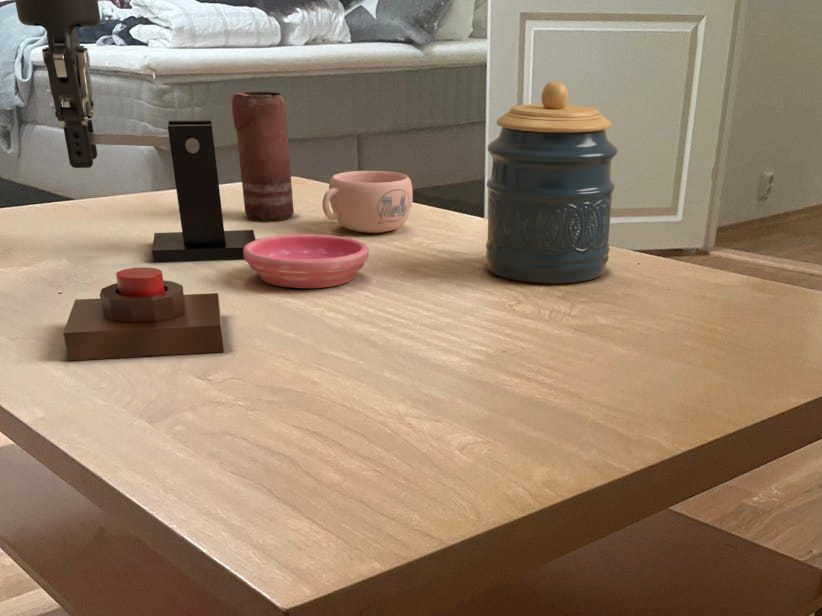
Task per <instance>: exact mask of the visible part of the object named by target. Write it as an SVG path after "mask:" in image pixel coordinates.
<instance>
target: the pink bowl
mask: <svg viewBox="0 0 822 616" xmlns="http://www.w3.org/2000/svg"><path fill="white" fill-rule="evenodd" d="M243 254H244V259H243V260H245V262H247V263H248V265H249V267H250V268H251V269H252V270H253V271H255V272H257V274H258V275H259V277H260V279H261V280H262V281H264V282H265V283H267V284H270V285H273V286H276V287H277V286H278V287H282V288H292V289H321V288H331V287H336V286H340V285H344V284H347V283H349V282H351V281H353V280H354V279H355V278H356V275H357V274H358V271H360V270H362V268H363V267H364V266H365V262H367V261H368V259H369V247H368V245H367V244H366V243H364V242H362V241H360V240H359V239H354V238H350V237H345V236H339V235H329V234H312V233H309V234H308V233H307V234H306V233H303V234H285V235H276V236H275V235H274V236H269V237H263V238H259V239H256V240H255V241H252V242H250V243H248V244H247V245H245V247H244V249H243Z"/></svg>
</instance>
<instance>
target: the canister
mask: <svg viewBox="0 0 822 616" xmlns="http://www.w3.org/2000/svg"><path fill="white" fill-rule="evenodd" d="M568 102H569V91H568V88H567V86H566V85H565V83H563V82H561V81H556V80H553V81H550V82H548V83H546V84H545V86H544V87H543V89H542V92H541V103H534V104H533V103H529V104H527V103H526V104H518V105H514V106H512V107H510V109H509V111H507V112H506V113H505V114H503V115H501V116H500V117H499V118H497V119H496V125H497V126H499V127H500V128H501V129H500V132H499V134H498V136H497V138H495V139H494V140H492V141H491V142H490V143H489V144H487V152H489V154H490V156H491V157H492V166H491V167H492V168H491V175H490V177H489V179H488V180H487V181H486V187H487V189H488V199H487V200H488V201H487V202H488V204H487V205H488V206H487V213H488V214H487V240H486V243H485V249H486V251H485V257H486V260H487V269H488V270H489V271H490V272H491V273H492V274H495V275H497V276H500V277H502V278H506V279H510V280H514V281H519V282H520V281H521V282H528V283H537V284H538V283H539V284H540V283H541V284H568V283H578V282H584V281H585V282H586V281H590V280H593V279H596V278H598V277H601V276H602V275H603V274H605V272H606V269H607V268H606V267H607V263H608V261H609V258H610V256H609V252H610V246H609V239H610V238H609V237H610V226H611V215H612V214H611V213H612V201H613V192H614V190H615V187H616V185H615V183H613V182H612V175H611V173H612V171H611V170H612V169H611V168H612V167H611V166H612V161H613V159H614V158H615V157H616V155H617V154H618V148H617V146H615V145H614V144H613V143H612V142H611V141H610V140H609V139H608V136H607V131H606V130H608V129H610V128H611V126H612V122H611V121H610V120H609V119H607V118H606V117H604V116H603V115H602V114H601V113H600V111H599V110H598V108H596V107H591V106H586V105H578V104H577V105H576V104H568Z"/></svg>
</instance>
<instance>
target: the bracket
mask: <svg viewBox="0 0 822 616" xmlns="http://www.w3.org/2000/svg"><path fill="white" fill-rule="evenodd" d="M212 123H213V122H212V120H211V119H176V120H175V119H174V120H173V119H172V120H170V119H169V120H168V124H167V131H168V135H169V140H170V147H169V148H170V154H171V161H172V168H173V176H174V182H175V190H176V196H177V197H176V198H177V204H178V212H179V219H180V225H181V231H176V232H175V231H173V232H154V234H153V240H152V246H151V247H152V248H151V255H152V260H153V263H170V262H171V263H172V262H196V261H199V262H200V261H221V260H225V261H226V260H245V259H244V254H243V249H244V247H245V245H247V244H248V243H250V242H252V241H255V240H257V239H256V235H255V231H254V229H238V230H237V229H233V230H232V229H231V230H225V226H224V225H225V224H224V218H223V209H222V200H221V192H220V184H219V176H218V175H219V174H218V166H217V158H216V149H215V141H214V132H213V125H212Z"/></svg>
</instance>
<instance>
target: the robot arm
mask: <svg viewBox="0 0 822 616" xmlns="http://www.w3.org/2000/svg"><path fill="white" fill-rule="evenodd" d="M14 2H15V8H16V13H17V18H18V20H19V23H20V24H22V25H24V26H29V27H30V26H31V27H42V28H43V29H45V31H46V39H47V46H46V47H44V48H42V49H41V52H42V60H43V61H42V62H43V65H44V66H45V68H46V71H47V76H48V84H49V90H50V95H51V97H52V99H53V103H54V104H53V105H54V108H55V111H54V114H55V118H57V121H58V122H59V123H60V125H61V127H63V133H64V138H65V144H66V151H67V155H68V156H67V157H68V161H69V162H68V163H69V165H70V166H71V167H72V168H74V169H90V168H92V167H93V164H94V160H95V159H97V157H98V149H97V144H90V140H89V134H88V130H89V132H95V131H94V125H93V119H94V106H95V103H94V100H93V99H92V97H93V91H94V90H93V84H92V78H91V74H90V73H91V72H90V63H91V62H90V61H91V59H90V54H89V49H88V47H85V46H84V45H81V44H80V39H79V33H78V28H92V27H98V26H99V25H100V24H101V20H102V19H101V14H100V8H99V0H14Z"/></svg>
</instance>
